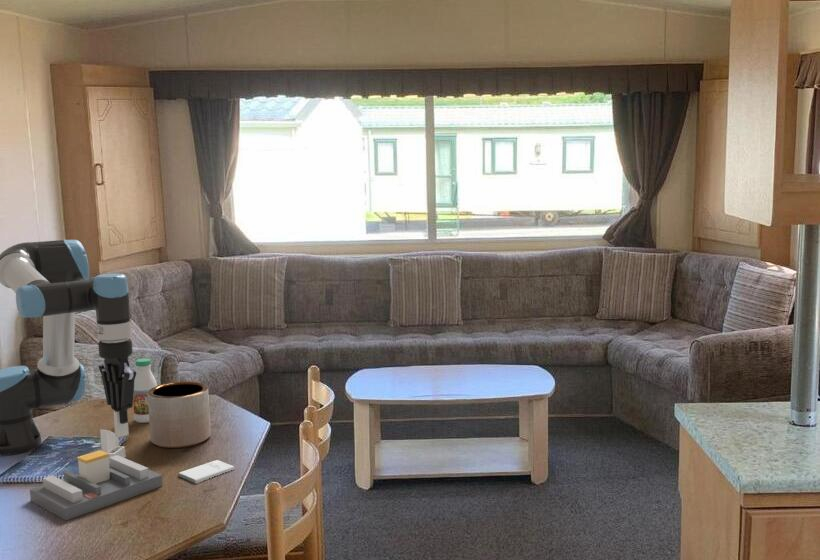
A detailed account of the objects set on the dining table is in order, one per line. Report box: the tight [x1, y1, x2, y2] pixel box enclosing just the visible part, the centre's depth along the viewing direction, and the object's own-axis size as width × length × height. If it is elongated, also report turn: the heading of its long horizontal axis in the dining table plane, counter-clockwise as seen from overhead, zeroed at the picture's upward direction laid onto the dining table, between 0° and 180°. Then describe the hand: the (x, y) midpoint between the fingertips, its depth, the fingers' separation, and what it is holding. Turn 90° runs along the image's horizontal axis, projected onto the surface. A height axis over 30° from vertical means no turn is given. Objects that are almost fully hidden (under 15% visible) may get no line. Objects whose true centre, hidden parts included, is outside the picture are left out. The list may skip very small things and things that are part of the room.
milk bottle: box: [133, 358, 158, 424], centre depth 268 cm, size 8×8×20 cm
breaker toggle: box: [77, 449, 110, 484], centre depth 211 cm, size 4×6×7 cm
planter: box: [148, 381, 212, 449], centre depth 249 cm, size 18×18×16 cm
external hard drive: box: [177, 459, 235, 484], centre depth 224 cm, size 2×8×12 cm
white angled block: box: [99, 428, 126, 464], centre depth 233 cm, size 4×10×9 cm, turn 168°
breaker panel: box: [29, 455, 163, 521], centre depth 211 cm, size 18×26×5 cm
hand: (122, 435), depth 199 cm, fingers closed
